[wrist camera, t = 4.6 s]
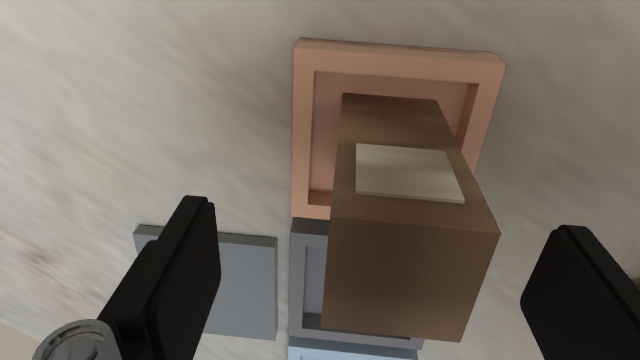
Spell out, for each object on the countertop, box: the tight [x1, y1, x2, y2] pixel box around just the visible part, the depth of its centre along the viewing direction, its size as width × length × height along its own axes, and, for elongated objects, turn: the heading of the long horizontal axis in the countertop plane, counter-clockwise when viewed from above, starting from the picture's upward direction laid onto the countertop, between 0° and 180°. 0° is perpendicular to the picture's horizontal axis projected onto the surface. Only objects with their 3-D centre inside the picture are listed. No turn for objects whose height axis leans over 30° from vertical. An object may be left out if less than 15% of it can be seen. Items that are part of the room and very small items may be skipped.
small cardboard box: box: [321, 93, 501, 343], centre depth 14 cm, size 4×4×9 cm
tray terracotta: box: [291, 38, 507, 220], centre depth 18 cm, size 8×8×2 cm
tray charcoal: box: [288, 217, 424, 350], centre depth 22 cm, size 8×8×2 cm
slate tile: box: [133, 225, 277, 341], centre depth 24 cm, size 8×8×1 cm
